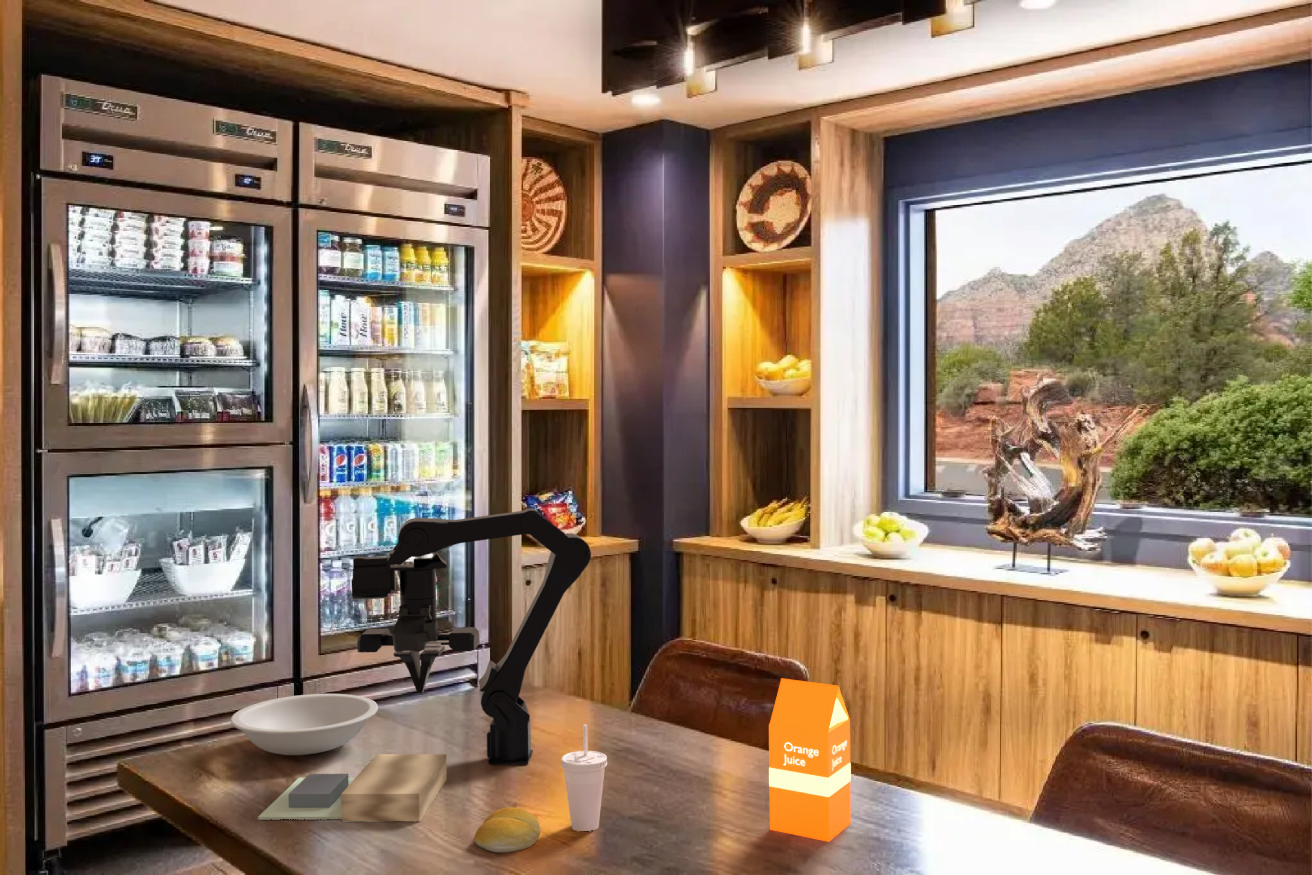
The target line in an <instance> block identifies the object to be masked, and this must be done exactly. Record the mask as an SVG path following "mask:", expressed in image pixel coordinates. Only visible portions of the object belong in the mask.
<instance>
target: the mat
mask: <svg viewBox="0 0 1312 875" xmlns="http://www.w3.org/2000/svg"><path fill="white" fill-rule="evenodd" d="M356 777H357V776H355V777H351V776H350V777H349V776H348V783H349V785H350V784H351V782H352V781H353V780H354V779H355V778H356ZM305 778H306V777H298V778H297V779H296V780H295V781H294V782H293V783H292V784H291V785H289V786H288V788H286V789H285V791H283V792H282V794H280V795H279V796H278V797H277V798H276V799H275V800H274V801H273V802H272V803H271V804H269V805H268V806H267V808H265V809H264V810H263V811H262V813H260V814H259V815H257V820H258V821H259V820H260V821H263V820H264V821H265V820H267V821H269V820H271V819H272V821H273V820H275V821H276V820H280V819H281V820H280V821H283V820H282V819H289V821H291V820H292V819H294V820H293V821H295V819H296V820H297V819H298V820H297V821H299V820H302V821H303V820H304V819H305V820H310V821H311V820H317V819H318V820H320V819H321V820H323V821H324V820H327V819H342V807H341V796H340V797H339V798H338V799H337V800H336V801H335V802H334V803H333V805H332V806H331V807H330V808H289V793H290V792H291V791H292V790H293V789H294V788H295V787H296V786H297V785H298V784H299V783H300V782H301V781H303V780H304V779H305ZM290 819H291V820H290ZM318 820H317V821H318ZM321 820H320V821H321Z"/></svg>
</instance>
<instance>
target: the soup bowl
mask: <svg viewBox="0 0 1312 875" xmlns="http://www.w3.org/2000/svg"><path fill="white" fill-rule="evenodd" d="M378 710H379V706H378V703H377V702H376V701H374V700H373V699H371V698H368V697H365V696H359V695H354V694H346V693H313V694H312V693H310V694H301V695H292V696H291V695H290V696H285V697H278V698H274V699H269V700H263V701H261V702H258V703H253V704H251V705H248V706H246V707H244V708H241V709H239V710H238V711H237V712H236V711H235V713H233V714H232V716H231V718H230V724H231V725H232V726H233V727H234V728H236V729H237V730H240V731H242V732H243V734H244V735H245V737H246V738H247V739H248V740H249V741H250V742H251V743H252V744H253V745H255V746H256V747H257V748H260V749H261V750H263V751H265V752H269V753H272V754H275V755H276V754H277V755H281V756H282V755H283V756H304V755H313V754H319V753H324V752H327V751H328V752H329V751H331V750H335V749H337V748H339V747H341V746H343V745H346V743H349V742H350V741H352V739H354V738H355V737H356V736H357V735H358V734H359V733H360V732H361V731H362V729H363V728H364V727H365V726H366V723H367V721H368V720H369V719H370V718H371V717H373V716H374V715H375V714H376V713H378Z"/></svg>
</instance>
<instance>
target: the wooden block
mask: <svg viewBox="0 0 1312 875" xmlns="http://www.w3.org/2000/svg"><path fill="white" fill-rule="evenodd" d="M447 770H448V769H447V753H444V754H443V753H439V754H437V753H436V754H435V753H433V754H432V753H430V754H429V753H427V754H426V753H423V754H422V753H419V754H417V753H416V754H415V753H414V754H413V753H410V754H408V753H407V754H406V753H405V754H403V753H402V754H394V753H393V754H392V753H391V754H386V753H385V754H384V753H383V754H382V753H381V754H380V753H379V754H377V753H376V754H375V755H374V756H373V758H372V759H371V760H370V761H369V762H368V763H367V765H365V767H364V768H363V769H362V770H360V772H359V773H358V775H357V776H355V777H356V778H355V779H354V780H353V781H352V782H351V784H350V785H349V786H348V787H347V788H346V789H345V790H344V791H343V793H342V794H341V807H342V820H341V822H342V821H390V822H389V823H392V822H391V821H420V822H421V820H422V818H423V817H424V816H425V814H426V813H427V811H428V810H429V808H430V806H431V805H432V803H433V802H434V800H435V798H436V797H437V796H436V795H438V794H439V793H440V791H441V789H442V787H443V786H444V784H445V783H446V781H447V780H448V779H447V778H448V777H447V776H448V775H447V773H448V772H447ZM425 812H426V813H425Z"/></svg>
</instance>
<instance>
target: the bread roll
mask: <svg viewBox="0 0 1312 875" xmlns="http://www.w3.org/2000/svg"><path fill="white" fill-rule="evenodd" d="M541 831H542V830H541V826H540V823H539V820H538V819H537V818H536V816H535V815H534V814H533V813H531V812H530V811H528V810H527V809H524V808H522V807H521V808H520V807H516V806H515V807H513V806H508V807H502V808H499V809H497V810H495V811H494V812H492V813H490V814H489V815H488V816H487V817H486V818H485V819H484V821H483V823H482V824H481V825H480V826H479V827H478V828H477V830H476V832H475V834H474V842H475V844H476V845H477V846H478V847H480V848H481V849H484V850H487V851H489V852H492V853H511V852H512V853H513V852H516V851H520V850H524V849H527V848H529V847H532V846H533V845H535V843H536V842H537V840H538V839H539V837H540V835H541Z"/></svg>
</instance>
